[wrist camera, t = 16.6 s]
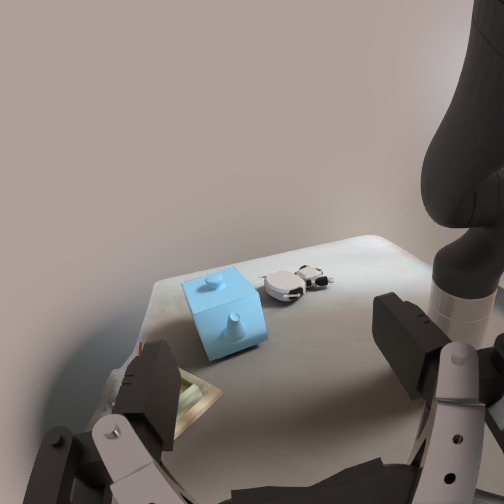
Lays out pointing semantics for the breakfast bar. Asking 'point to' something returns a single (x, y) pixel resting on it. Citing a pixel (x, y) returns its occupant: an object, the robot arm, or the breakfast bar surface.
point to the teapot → (225, 312)
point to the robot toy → (294, 282)
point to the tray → (193, 400)
